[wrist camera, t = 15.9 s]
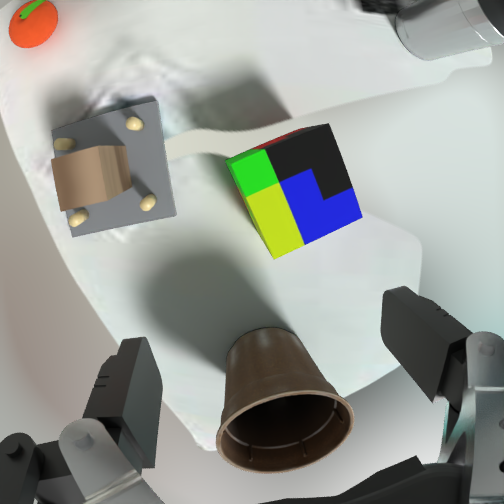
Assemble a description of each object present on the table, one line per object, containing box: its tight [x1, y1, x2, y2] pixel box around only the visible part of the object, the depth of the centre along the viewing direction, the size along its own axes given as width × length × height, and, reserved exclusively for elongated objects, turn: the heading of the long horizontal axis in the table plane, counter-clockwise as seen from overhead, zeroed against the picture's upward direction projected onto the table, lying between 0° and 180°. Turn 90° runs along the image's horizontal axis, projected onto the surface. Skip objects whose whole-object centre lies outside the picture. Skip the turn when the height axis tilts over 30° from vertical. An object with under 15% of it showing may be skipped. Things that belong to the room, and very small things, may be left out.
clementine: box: [9, 0, 58, 48], centre depth 24 cm, size 8×7×7 cm
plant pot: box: [216, 328, 354, 474], centre depth 39 cm, size 16×16×16 cm
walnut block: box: [51, 146, 132, 212], centre depth 29 cm, size 5×5×10 cm
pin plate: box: [52, 101, 177, 237], centre depth 33 cm, size 14×14×5 cm
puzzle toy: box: [225, 123, 362, 259], centre depth 34 cm, size 10×10×10 cm
